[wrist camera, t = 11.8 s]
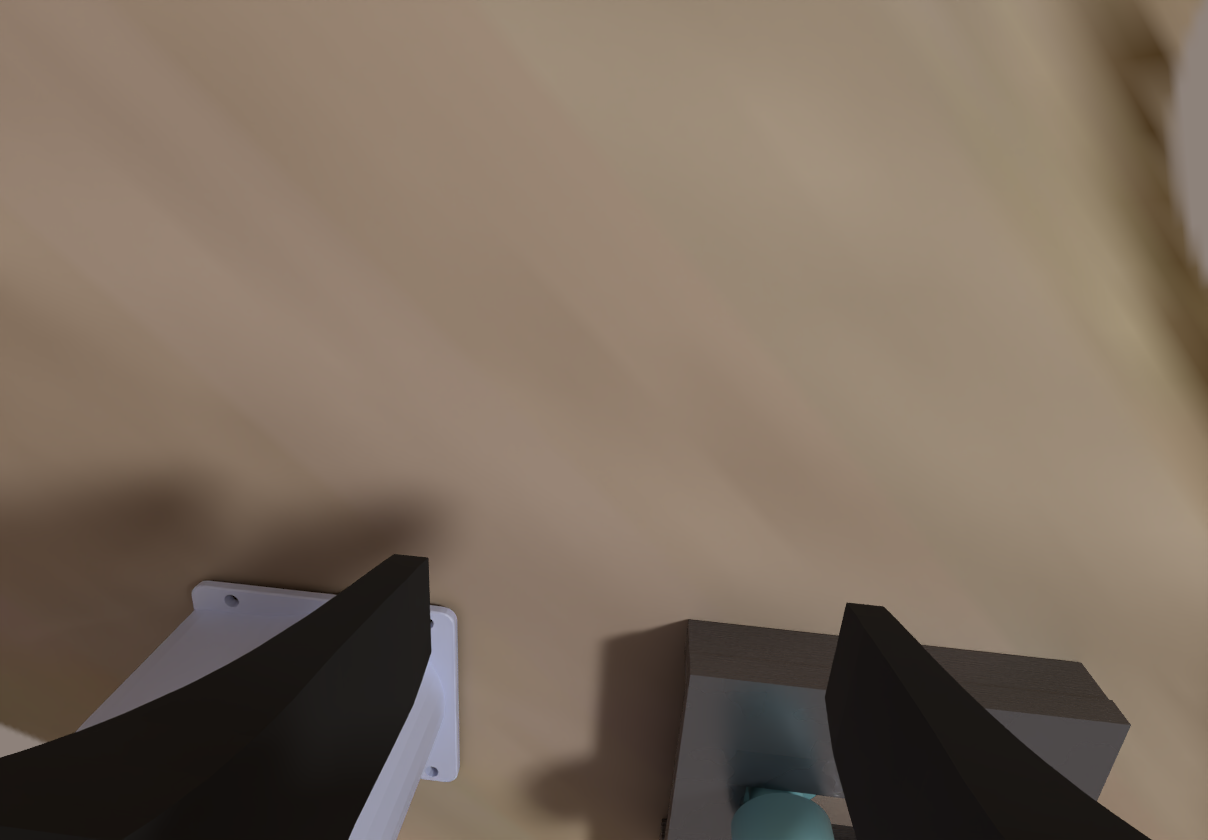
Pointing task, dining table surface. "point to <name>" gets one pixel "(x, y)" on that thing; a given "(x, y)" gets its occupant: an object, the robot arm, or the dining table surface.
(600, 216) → the dining table surface
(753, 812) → the peg
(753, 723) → the keyhole plate
